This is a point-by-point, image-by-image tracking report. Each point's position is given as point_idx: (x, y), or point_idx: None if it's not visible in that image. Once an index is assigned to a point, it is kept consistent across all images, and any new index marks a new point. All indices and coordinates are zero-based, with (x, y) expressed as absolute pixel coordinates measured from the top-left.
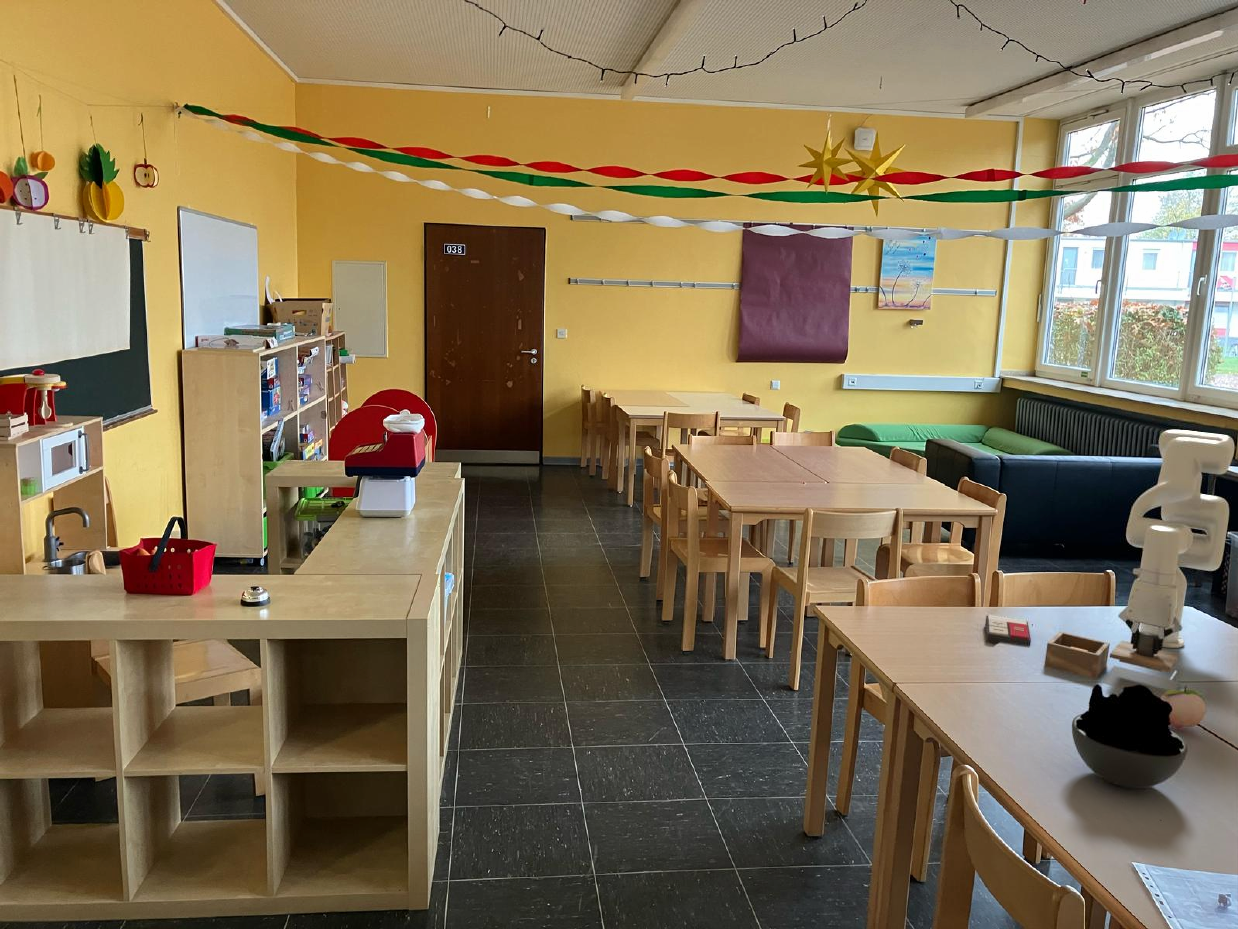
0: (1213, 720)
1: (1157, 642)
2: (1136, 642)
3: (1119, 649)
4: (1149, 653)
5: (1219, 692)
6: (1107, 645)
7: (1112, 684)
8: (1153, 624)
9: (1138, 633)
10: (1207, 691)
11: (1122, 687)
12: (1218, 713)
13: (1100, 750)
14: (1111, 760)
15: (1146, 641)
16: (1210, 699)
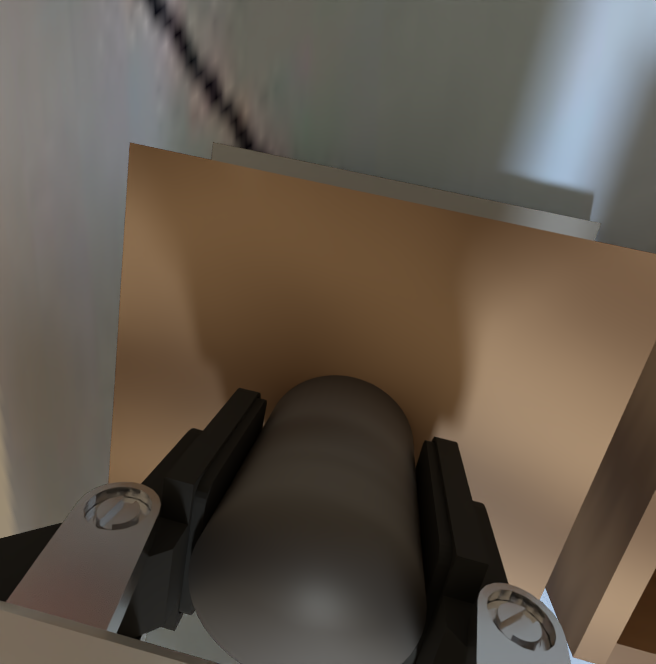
0: (12, 24)
1: (198, 449)
2: (433, 476)
3: (558, 448)
4: (301, 391)
5: (36, 460)
6: (601, 605)
7: (526, 223)
8: (130, 658)
9: (428, 598)
10: (77, 447)
11: (468, 202)
12: (6, 162)
13: None
14: None
15: (326, 450)
16: (56, 349)
